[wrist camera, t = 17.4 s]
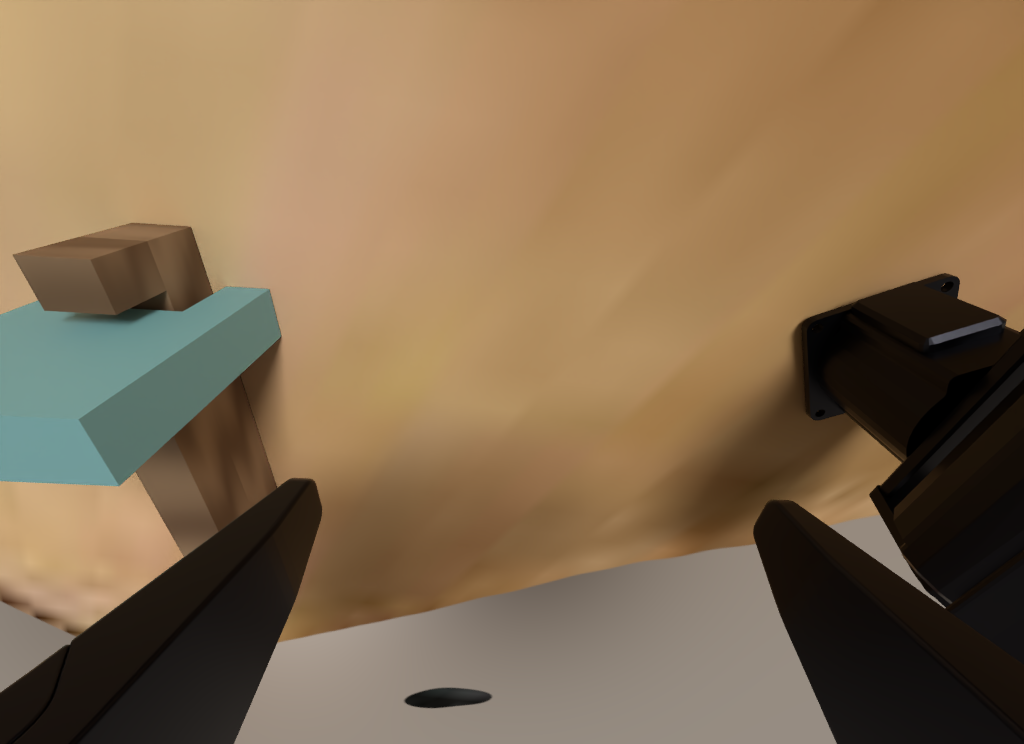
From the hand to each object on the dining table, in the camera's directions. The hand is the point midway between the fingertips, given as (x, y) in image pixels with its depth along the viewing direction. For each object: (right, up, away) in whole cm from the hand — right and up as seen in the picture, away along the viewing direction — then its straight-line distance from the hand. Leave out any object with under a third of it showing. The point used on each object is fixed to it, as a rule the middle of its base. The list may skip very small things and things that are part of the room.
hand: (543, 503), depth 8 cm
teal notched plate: (-16, +6, +12) cm, 21 cm away
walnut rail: (-17, +1, +15) cm, 22 cm away
